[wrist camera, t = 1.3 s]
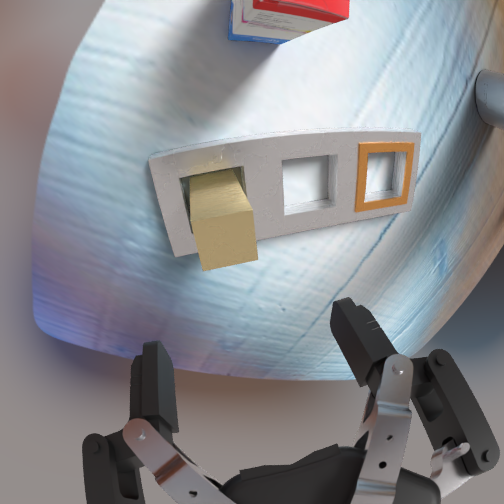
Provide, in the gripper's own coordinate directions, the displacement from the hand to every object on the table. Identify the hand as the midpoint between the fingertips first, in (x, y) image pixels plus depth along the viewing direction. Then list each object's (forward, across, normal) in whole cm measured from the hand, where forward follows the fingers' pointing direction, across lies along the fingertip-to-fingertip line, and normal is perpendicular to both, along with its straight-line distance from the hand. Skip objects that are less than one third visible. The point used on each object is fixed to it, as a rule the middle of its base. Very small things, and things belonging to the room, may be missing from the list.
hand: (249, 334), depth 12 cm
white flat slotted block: (+17, -9, 0) cm, 19 cm away
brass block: (+17, 0, 0) cm, 17 cm away
